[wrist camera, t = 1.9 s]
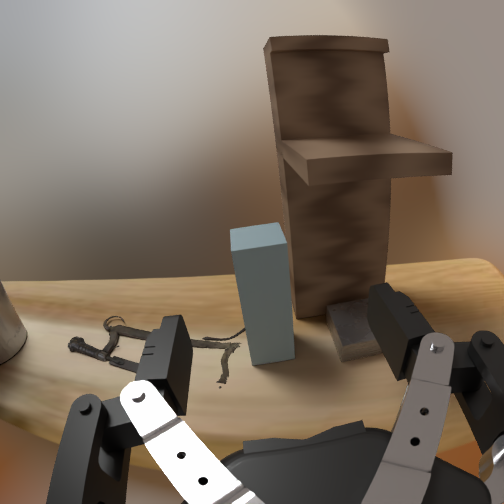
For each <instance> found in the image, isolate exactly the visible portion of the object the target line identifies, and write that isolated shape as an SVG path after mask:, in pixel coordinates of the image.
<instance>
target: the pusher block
mask: <svg viewBox="0 0 504 504" xmlns="http://www.w3.org/2000/svg"><path fill="white" fill-rule="evenodd" d="M230 234H231V253H232V258H233V263H234V270H235V275H236V281H237V286H238V292H239V297H240V303H241V308H242V314H243V319H244V324H245V330H246V335H247V340H248V345H249V351H250V356H251V361H252V366H253V365H260V364H266V363H273V362H279V361H285V360H291V359H295V351H294V333H293V316H292V301H291V286H290V273H289V260H288V247H287V241H286V239H285V237H284V235H283V232H282V230H281V228H280V225H279V223H271V224H263V225H257V226H251V227H244V228H237V229H231V230H230Z"/></svg>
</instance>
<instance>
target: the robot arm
mask: <svg viewBox="0 0 504 504" xmlns="http://www.w3.org/2000/svg"><path fill="white" fill-rule="evenodd" d="M367 320H368V324H369V327H370V329H371V331H372V333H373V335H374V337H375V339H376V340H377V342H378V344H379V346H380V348H381V350H382V352H383V354H384V356H385V358H386V360H387V362H388V364H389V366H390V368H391V370H392V372H393V374H394V376H395V378H396V380H397V381H399V380H402V379H407V381H408V385H407V388H406V391H405V394H404V397H403V400H402V403H401V406H400V409H399V412H398V415H397V417H396V420H395V423H394V425H393V428H392V430H391V432H390V431H387V430H383V429H378V428H365V427H364V424H363V421H362V420H361V421H357V422H353V423H349V424H345V425H341V426H336V427H333V428H331V429H329V430H326V431H324V432H322V433H320V434H317V435H315V436H313V437H310V438H308V439H304V440H300V439H281V438H268V439H260V440H251V441H243V449H242V450H239V451H236V452H234V453H232V454H230V455H228V456H227V457H225V458H224V459H222V460H221V461H220V462H219V461H218V460H217V459H216V457H215V456H214V455H213V454H212V453H211V452H210V451H209V450H208V449H207V448H206V447H205V446H204V444H203V443H202V442H201V441H200V440H199V439H198V438H197V437H196V435H195V434H194V433H193V432H192V431H191V430H190V429H189V427H188V426H187V425H186V424H185V423H184V421H183V420H182V419H181V418H178V417H177V416H186V410H187V401H188V391H189V382H190V374H191V365H192V357H193V348H192V343H191V339H190V337H189V334H188V331H187V328H186V325H185V322H184V319H183V317H182V315H173V316H164V317H163V320H162V323H161V327H160V329H154V330H153V331H152V332H151V333H150V335H149V336H148V337H147V339H146V343H145V346H144V349H143V353H142V356H141V359H140V363H139V366H138V370H137V373H136V377H135V381H134V382H132V383H130V384H129V385H127V386H126V387H125V388H124V389H123V391H122V392H121V395H120V396H119V397H116V398H113V399H109V400H105V401H101V400H100V399H99V398H98V397H97V396H96V395H93V394H86V395H82V396H80V397H79V398H77V399H76V400H75V401H74V402H73V404H72V406H71V409H70V412H69V415H68V418H67V421H66V425H65V428H64V432H63V435H62V439H61V442H60V446H59V450H58V454H57V457H56V461H55V465H54V469H53V474H52V478H51V482H50V487H49V492H48V497H47V502H46V504H125V502H126V490H127V480H128V471H129V462H130V454H131V447H134V446H138V445H142V444H145V445H146V447H147V448H148V450H149V451H150V453H151V454H152V456H153V457H154V459H155V460H156V461H157V463H158V464H159V466H160V467H161V468H162V470H163V471H164V473H165V474H166V475H167V477H168V478H169V479H170V481H171V482H172V483H173V485H174V486H175V487H176V488H177V490H178V491H179V492H180V494H181V495H182V496H183V497H184V499H185V500H184V501H183V502H182V503H181V504H502V503H503V502H504V345H503V343H502V342H501V341H500V339H499V338H498V337H497V336H496V335H495V334H494V333H492V332H489V331H478V332H476V333H475V334H474V335H473V336H472V339H471V341H470V342H453V341H452V339H451V338H450V337H448V336H447V335H445V334H442V333H435V331H434V330H433V329H432V327H431V326H430V325H429V323H428V322H427V321H426V319H425V318H424V317H423V315H422V314H421V313H420V312H419V310H418V309H417V307H416V306H414V303H413V302H412V301H411V299H410V298H409V297H408V296H406V295H405V294H403V293H401V292H400V291H399V292H395V291H394V290H393V289H392V287H391V286H390V285H389V284H388V283H387V282H386V283H381V284H376V285H371V286H370V288H369V298H368V309H367ZM26 337H27V331H26V329H25V327H24V325H23V323H22V322H21V320H20V318H19V316H18V315H17V313H16V311H15V309H14V307H13V305H12V303H11V301H10V299H9V297H8V295H7V293H6V291H5V289H4V287H3V285H2V283H1V281H0V364H1V363H3V362H5V361H7V360H8V359H10V358H11V357H12V356H14V355H15V354H16V353H17V352H18V351H19V350H20V348H21V347H22V345H23V344H24V342H25V340H26ZM484 381H485V382H486V383H485V382H484ZM486 384H487V385H488V387H489V389H490V390H489V389H488V387H487V385H486ZM490 391H491V392H490ZM451 393H454V394H455V396H456V398H457V400H458V402H459V404H460V406H461V408H462V411H463V413H464V415H465V417H466V419H467V421H468V423H469V425H470V428H471V430H472V432H473V434H474V437H475V439H476V441H477V443H478V446H479V448H480V450H481V453H482V457H481V459H480V462H479V477H480V479H479V478H478V477H476V476H474V475H472V474H470V473H468V472H466V471H464V470H462V469H460V468H458V467H456V466H453V465H452V464H450V463H448V462H446V461H443V460H442V459H440V458H438V457H436V456H435V455H436V452H437V449H438V445H439V441H440V438H441V434H442V430H443V426H444V422H445V418H446V413H447V408H448V404H449V399H450V394H451ZM491 393H492V394H491Z"/></svg>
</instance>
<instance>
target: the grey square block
mask: <svg viewBox="0 0 504 504" xmlns="http://www.w3.org/2000/svg"><path fill="white" fill-rule="evenodd" d="M367 309H368V298H366V299H361V300H356V301H350V302H345V303H339V304H333V305H327V316H326V322H327V325H328V327H329V330H330V333H331V335H332V338H333V341H334V344H335V346H336V349H337V352H338V355H339V357H340V360H341V362H345V361H349V360H354V359H359V358H363V357H368V356H372V355H376V354H380V353H383V352H382V350H381V348H380V346H379V344H378V342H377V340H376V339H375V337H374V335H373V333H372V331H371V329H370V327H369V324H368V320H367Z"/></svg>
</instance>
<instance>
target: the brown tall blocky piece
mask: <svg viewBox="0 0 504 504" xmlns="http://www.w3.org/2000/svg"><path fill="white" fill-rule="evenodd" d="M263 49H264V56H265V63H266V71H267V78H268V85H269V92H270V100H271V108H272V115H273V124H274V132H275V139H276V148H277V157H278V167H279V176H280V185H281V195H282V205H283V215H284V225H285V235H286V241H287V247H288V260H289V273H290V286H291V301H292V304H293V308H294V312H295V315H296V319H300V318H306V317H312V316H318V315H323V314H327V305H333V304H339V303H345V302H350V301H356V300H361V299H366V298H369V288H370V286H371V285H376V284H381V283H385V274H386V263H387V252H388V239H389V223H390V200H391V198H390V197H391V178H402V177H417V176H436V175H452V152H449V151H446V150H443V149H440V148H437V147H434V146H431V145H428V144H424V143H421V142H417V141H415V140H411V139H408V138H404V137H400V136H396V135H393V134H390V121H389V120H390V119H389V104H388V93H387V82H386V72H385V63H384V56H383V54H384V53H387V52H389V46H388V40H387V39H380V38H369V37H355V36H328V35H313V36H312V35H306V36H305V35H304V36H279V37H270V38H269V39H268V41H267V43H266V45H265V47H264V48H263Z"/></svg>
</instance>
